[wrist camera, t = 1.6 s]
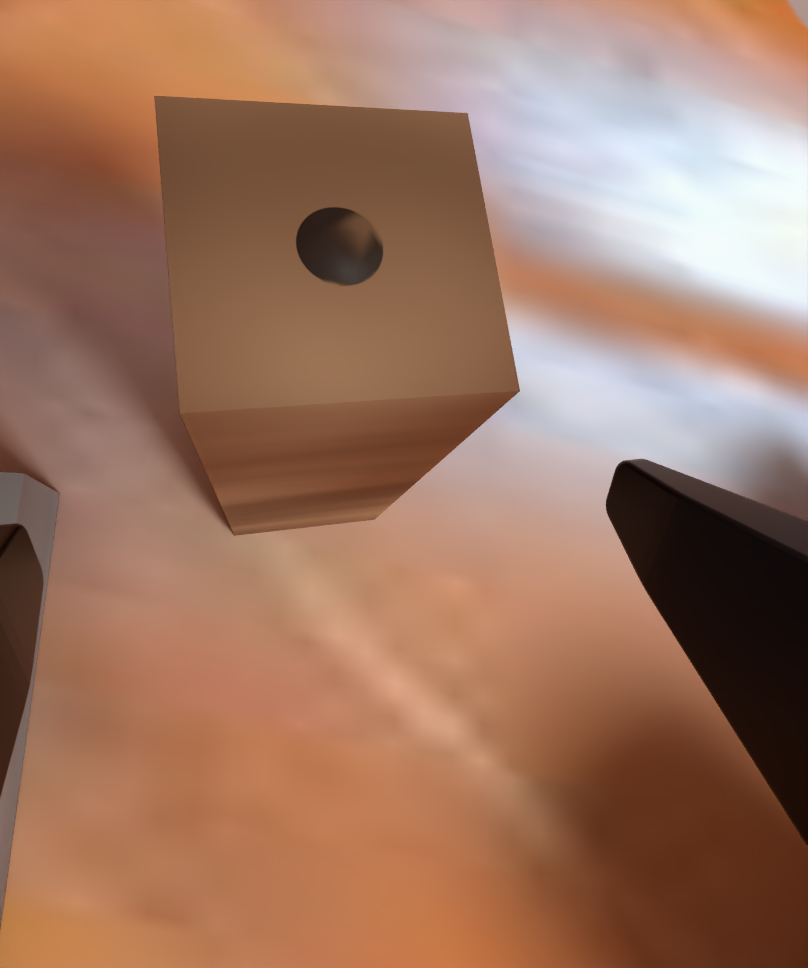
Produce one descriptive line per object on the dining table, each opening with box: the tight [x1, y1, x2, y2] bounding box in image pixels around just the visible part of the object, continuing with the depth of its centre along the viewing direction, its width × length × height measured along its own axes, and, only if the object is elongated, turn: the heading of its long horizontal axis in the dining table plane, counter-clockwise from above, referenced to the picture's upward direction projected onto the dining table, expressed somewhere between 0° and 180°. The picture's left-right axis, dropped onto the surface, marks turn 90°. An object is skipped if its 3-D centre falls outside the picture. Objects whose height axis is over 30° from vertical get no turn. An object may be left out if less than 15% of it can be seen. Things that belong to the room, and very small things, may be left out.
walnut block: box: [154, 96, 520, 536], centre depth 14 cm, size 4×4×12 cm
